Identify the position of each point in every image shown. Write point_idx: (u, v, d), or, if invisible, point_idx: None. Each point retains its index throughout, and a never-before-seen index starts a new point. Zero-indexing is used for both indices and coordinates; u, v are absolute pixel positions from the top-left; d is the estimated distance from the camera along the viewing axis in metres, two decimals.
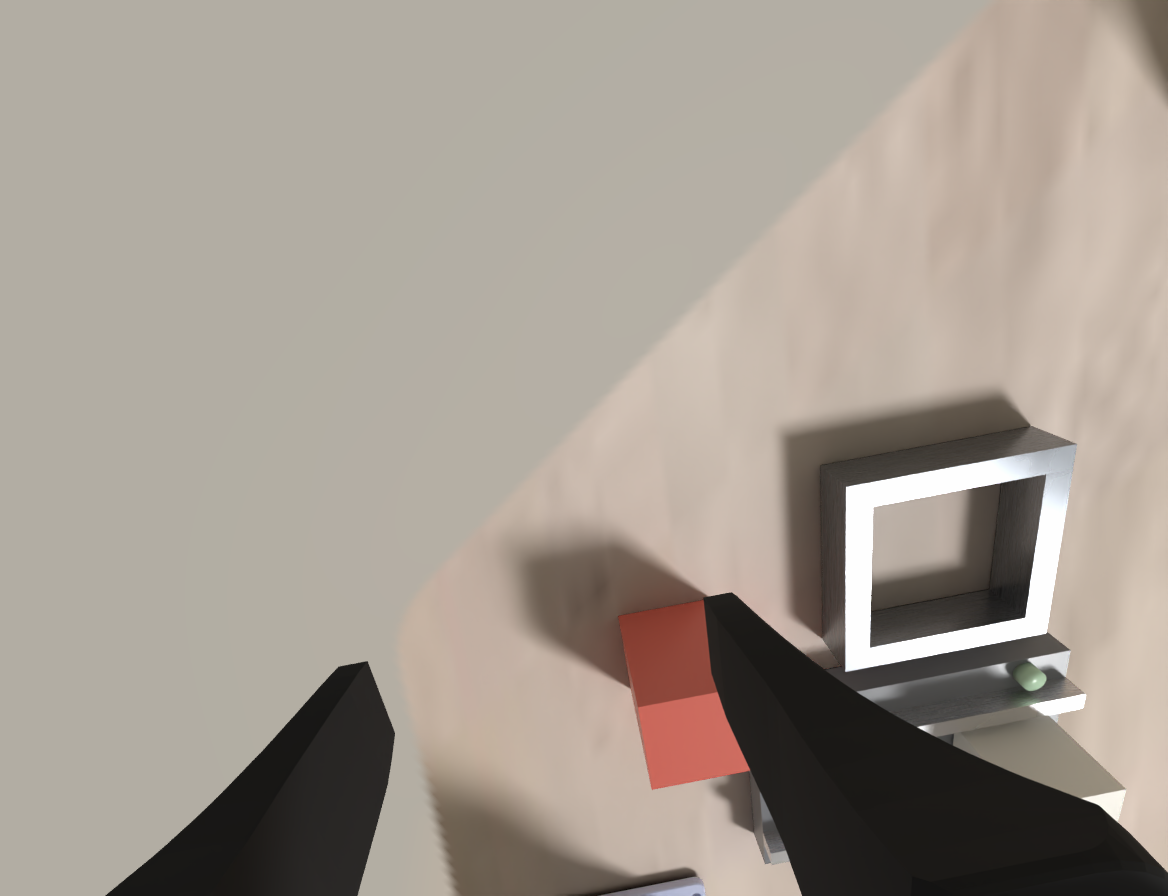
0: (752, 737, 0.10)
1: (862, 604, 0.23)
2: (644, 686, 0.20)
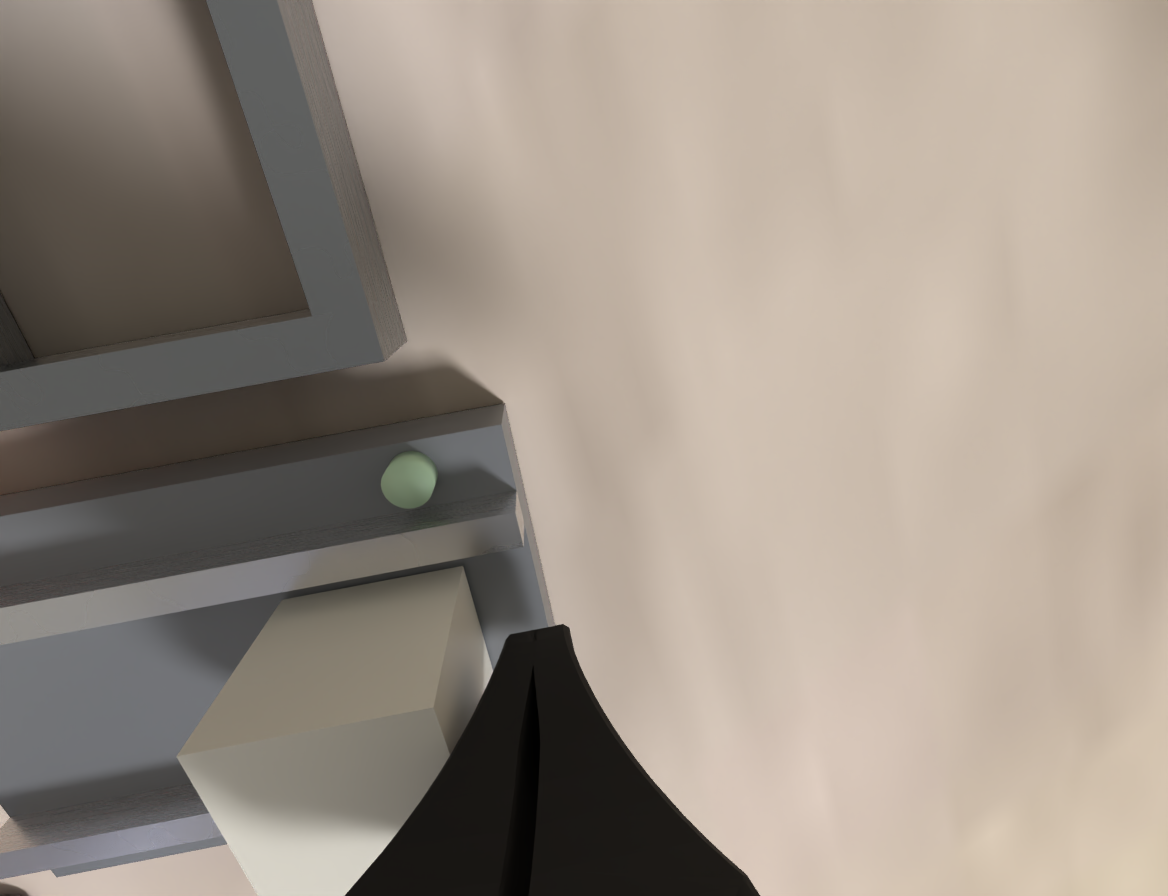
0: None
1: None
2: None
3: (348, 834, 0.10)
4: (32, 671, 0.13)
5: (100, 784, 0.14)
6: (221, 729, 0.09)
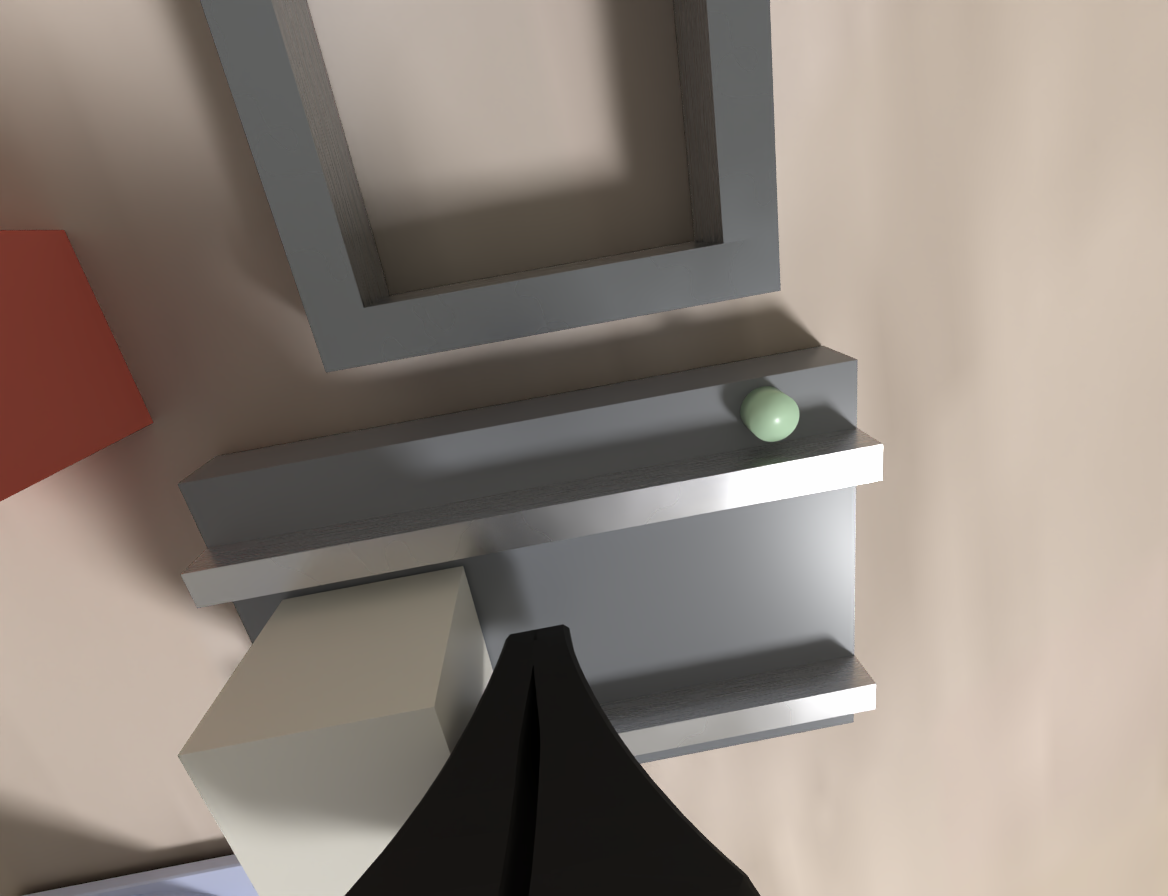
0: None
1: (302, 173, 0.09)
2: None
3: (349, 833, 0.10)
4: None
5: None
6: (222, 728, 0.09)
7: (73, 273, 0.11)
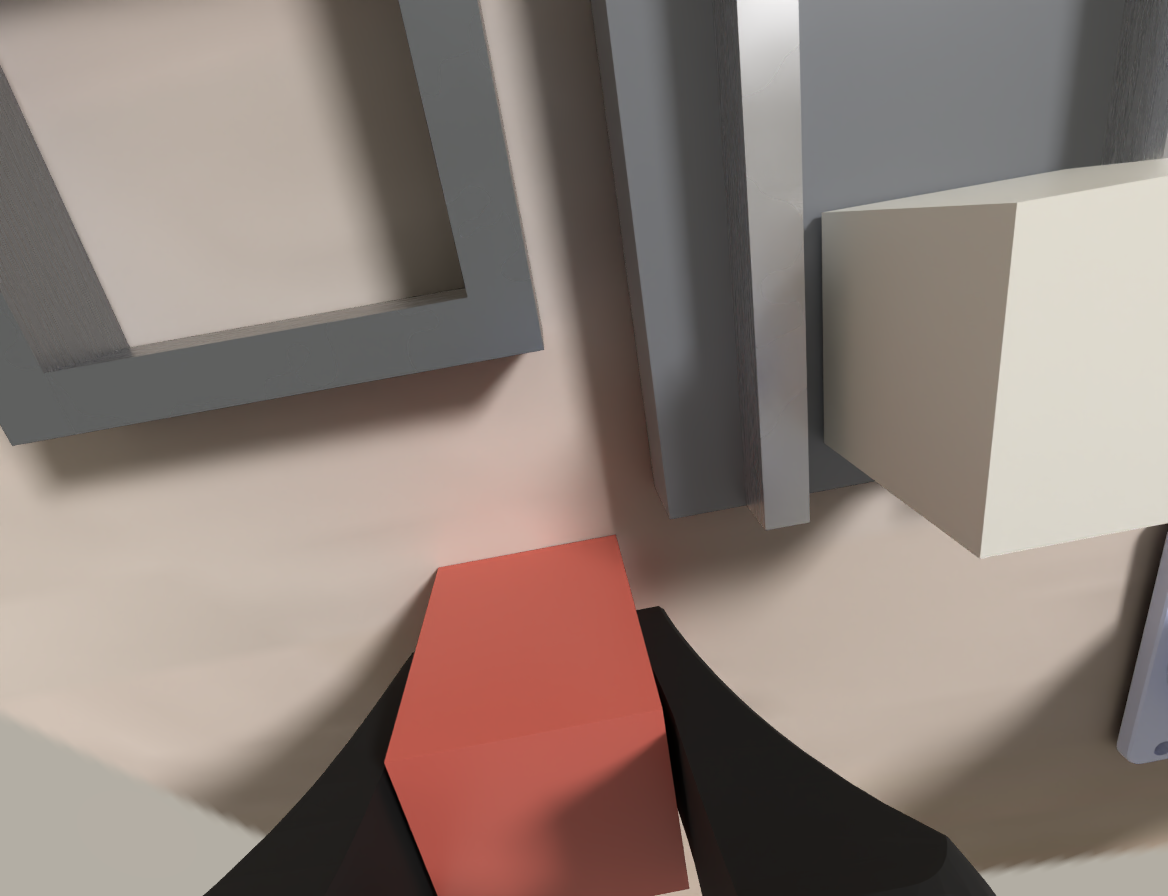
0: None
1: (330, 344, 0.09)
2: None
3: None
4: None
5: None
6: (960, 507, 0.07)
7: (472, 569, 0.12)
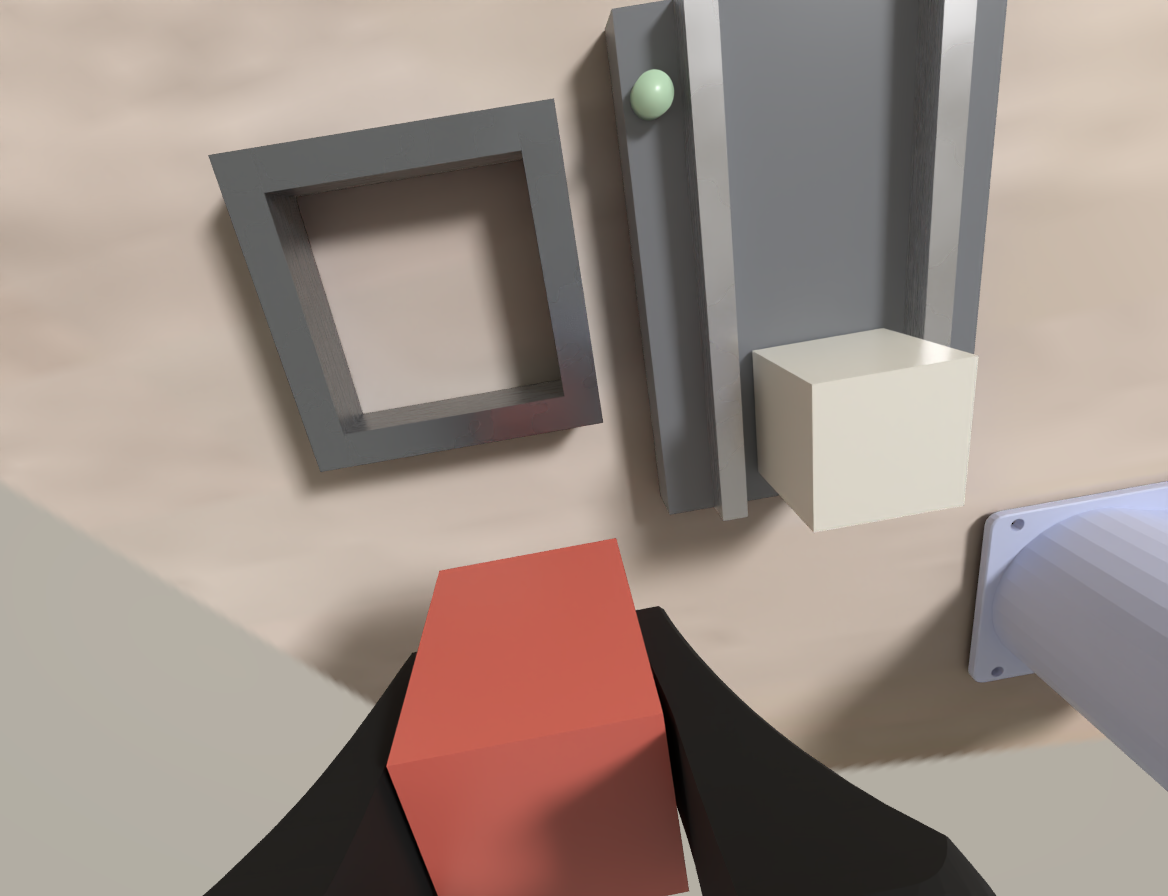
0: None
1: (491, 420, 0.17)
2: None
3: (905, 448, 0.14)
4: None
5: None
6: (806, 508, 0.15)
7: (473, 572, 0.13)
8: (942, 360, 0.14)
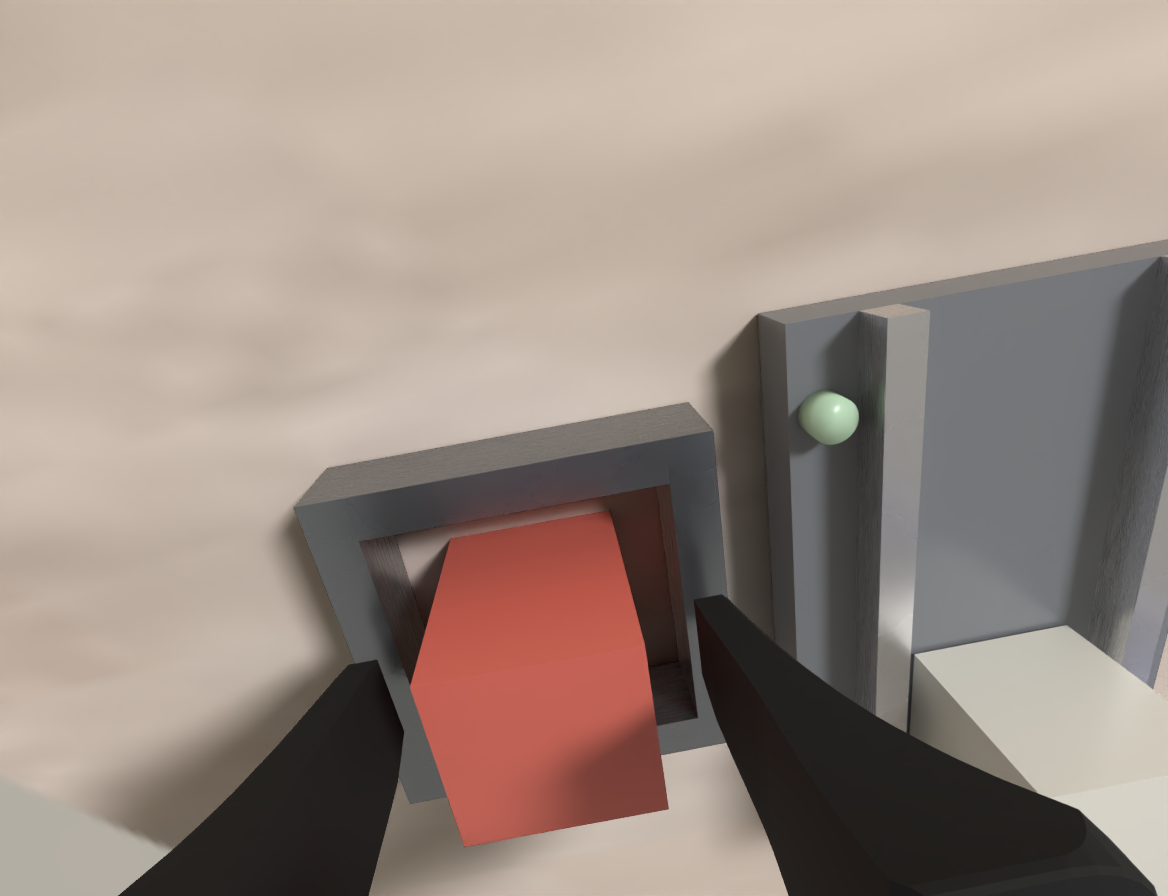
0: (741, 739, 0.10)
1: None
2: None
3: (1142, 847, 0.12)
4: None
5: None
6: None
7: (481, 538, 0.14)
8: None
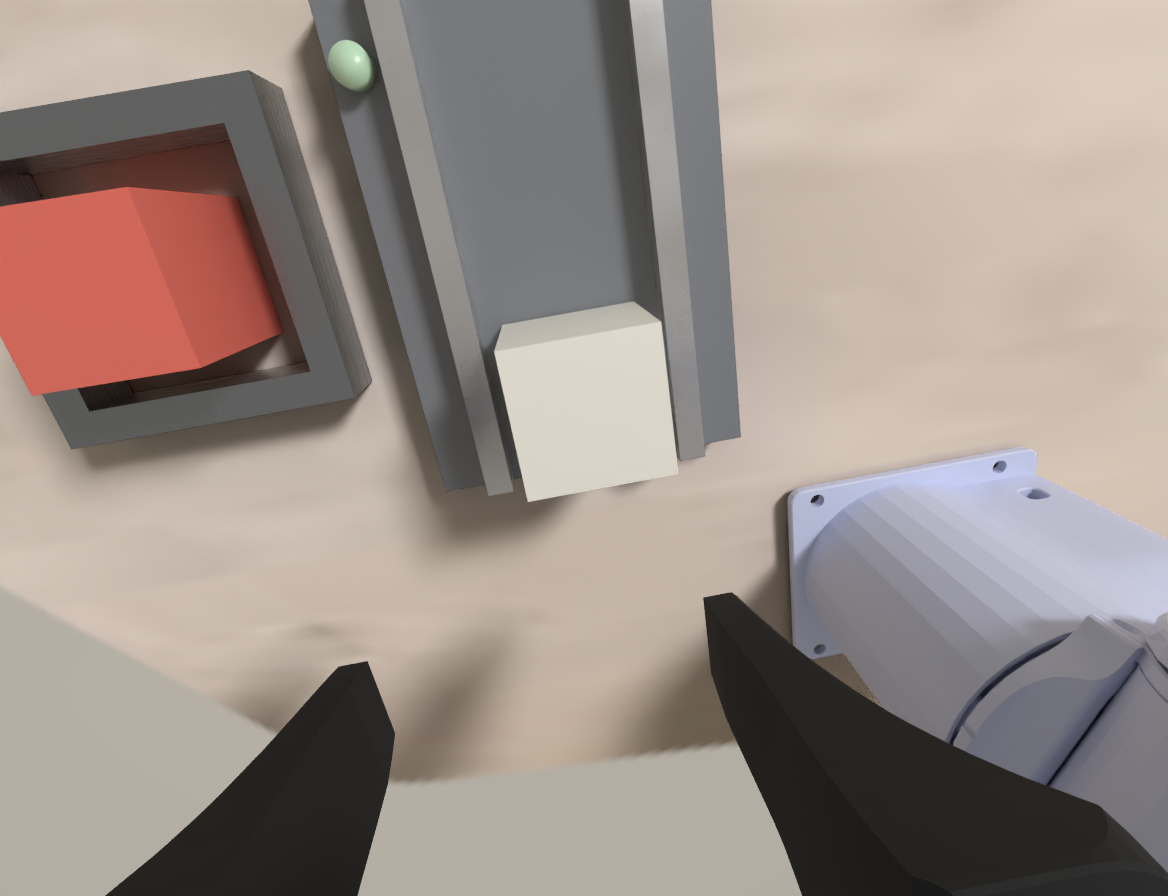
0: (752, 737, 0.10)
1: (239, 396, 0.17)
2: None
3: (604, 415, 0.14)
4: None
5: None
6: None
7: None
8: (627, 326, 0.14)
